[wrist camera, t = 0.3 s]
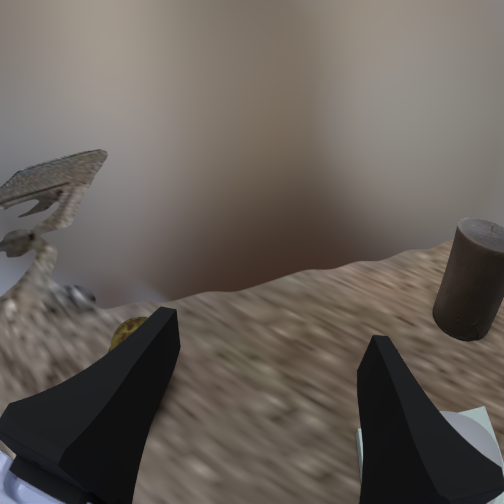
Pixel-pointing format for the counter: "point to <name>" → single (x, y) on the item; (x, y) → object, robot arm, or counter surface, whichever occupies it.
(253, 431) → the counter surface
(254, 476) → the counter surface
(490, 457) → the scale
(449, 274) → the pillar candle
